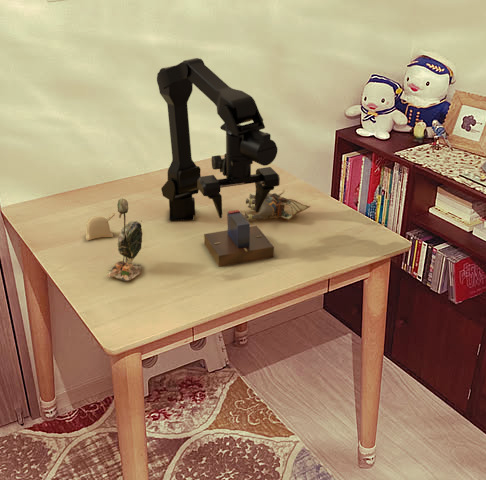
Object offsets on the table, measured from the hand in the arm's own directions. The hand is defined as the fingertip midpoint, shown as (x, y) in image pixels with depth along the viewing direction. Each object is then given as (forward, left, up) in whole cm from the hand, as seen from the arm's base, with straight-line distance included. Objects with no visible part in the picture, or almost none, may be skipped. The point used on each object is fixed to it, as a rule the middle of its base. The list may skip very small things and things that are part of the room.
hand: (238, 214), depth 173 cm
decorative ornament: (-35, +11, -10) cm, 38 cm away
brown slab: (0, 0, -10) cm, 10 cm away
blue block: (0, 0, -7) cm, 7 cm away
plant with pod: (-27, -8, -10) cm, 30 cm away
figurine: (+12, +19, -10) cm, 25 cm away
